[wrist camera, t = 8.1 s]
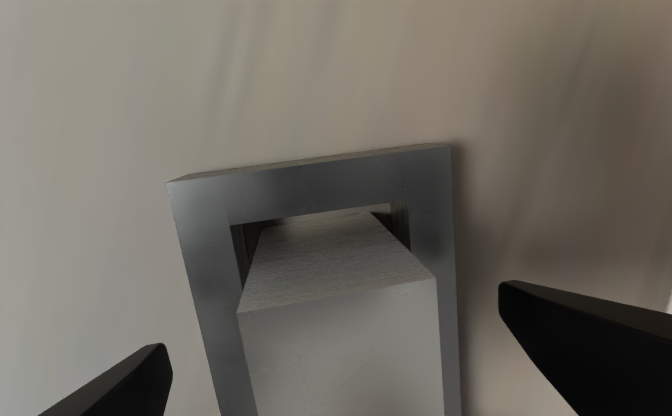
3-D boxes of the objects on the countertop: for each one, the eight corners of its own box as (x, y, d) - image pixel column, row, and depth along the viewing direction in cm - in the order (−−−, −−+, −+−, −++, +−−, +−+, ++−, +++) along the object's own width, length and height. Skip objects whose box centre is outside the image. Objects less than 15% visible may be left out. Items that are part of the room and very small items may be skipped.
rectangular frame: (446, 522, 16) (467, 573, 15) (274, 565, 16) (271, 626, 14) (425, 143, 12) (450, 145, 10) (186, 174, 11) (165, 183, 9)
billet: (369, 211, 13) (436, 278, 7) (379, 306, 13) (445, 436, 8) (262, 228, 12) (235, 313, 6) (280, 325, 13) (271, 477, 7)
